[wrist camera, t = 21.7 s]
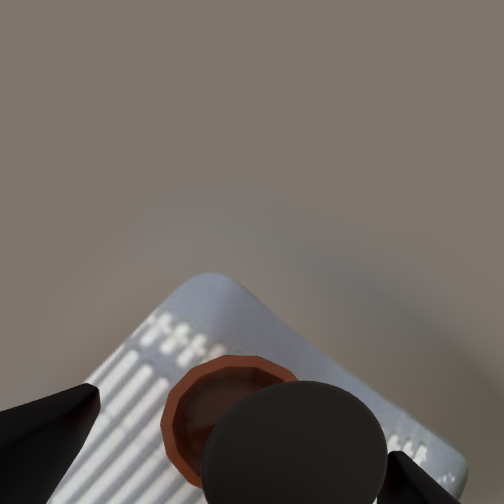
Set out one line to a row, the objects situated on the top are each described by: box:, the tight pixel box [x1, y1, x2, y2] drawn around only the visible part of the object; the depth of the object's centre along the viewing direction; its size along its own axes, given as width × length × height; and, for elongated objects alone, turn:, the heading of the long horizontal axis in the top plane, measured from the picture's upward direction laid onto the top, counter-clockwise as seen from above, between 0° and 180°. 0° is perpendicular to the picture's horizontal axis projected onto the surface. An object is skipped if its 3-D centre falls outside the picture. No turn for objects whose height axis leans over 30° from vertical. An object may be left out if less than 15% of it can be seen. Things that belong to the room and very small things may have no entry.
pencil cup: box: [160, 355, 298, 490], centre depth 12 cm, size 6×6×5 cm
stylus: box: [200, 381, 388, 504], centre depth 8 cm, size 2×2×14 cm
